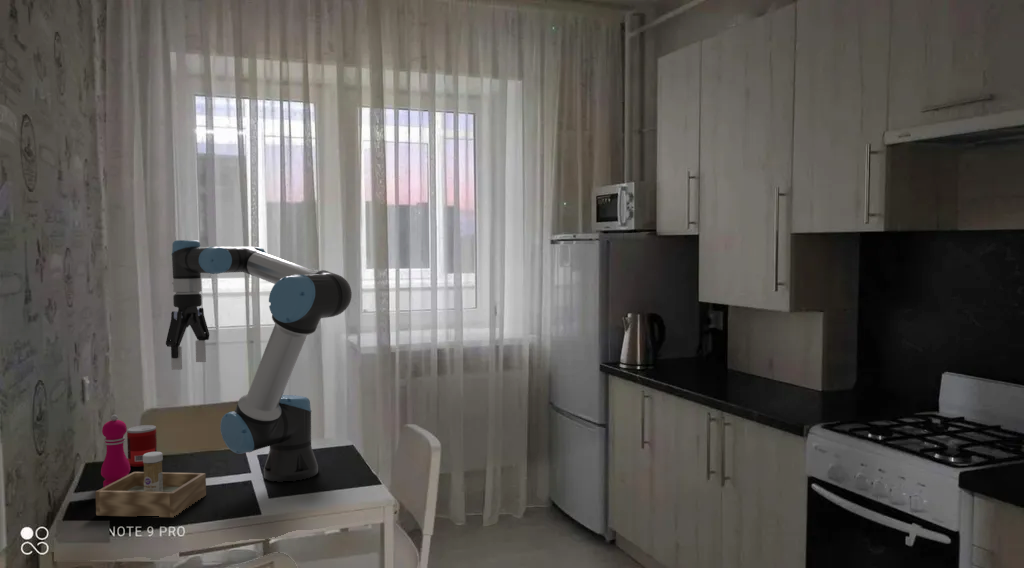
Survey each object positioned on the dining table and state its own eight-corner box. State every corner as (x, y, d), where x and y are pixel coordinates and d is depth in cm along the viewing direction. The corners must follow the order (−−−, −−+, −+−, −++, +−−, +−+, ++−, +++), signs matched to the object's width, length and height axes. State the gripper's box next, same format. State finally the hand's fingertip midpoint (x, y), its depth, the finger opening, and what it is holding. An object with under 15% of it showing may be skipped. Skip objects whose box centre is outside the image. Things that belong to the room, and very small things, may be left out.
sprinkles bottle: (140, 508, 185) (139, 456, 184) (149, 501, 190) (147, 451, 189) (159, 507, 185) (157, 455, 185) (166, 501, 190) (165, 450, 189)
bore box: (206, 495, 195) (205, 473, 194) (173, 517, 179) (173, 493, 178) (134, 493, 196) (133, 471, 196) (96, 515, 180) (95, 491, 180)
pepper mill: (118, 490, 198) (115, 418, 197) (95, 489, 200) (92, 417, 199) (136, 482, 206) (134, 412, 205) (114, 480, 207) (112, 411, 206)
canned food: (162, 461, 225) (161, 426, 225) (137, 468, 219) (136, 432, 218) (148, 458, 229) (147, 423, 229) (123, 464, 223) (121, 429, 222)
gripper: (196, 290, 225) (198, 358, 226) (150, 295, 200) (152, 372, 201) (220, 290, 224) (221, 359, 225) (177, 296, 199) (179, 372, 200)
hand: (189, 365), depth 213 cm, fingers open, 13 cm apart
